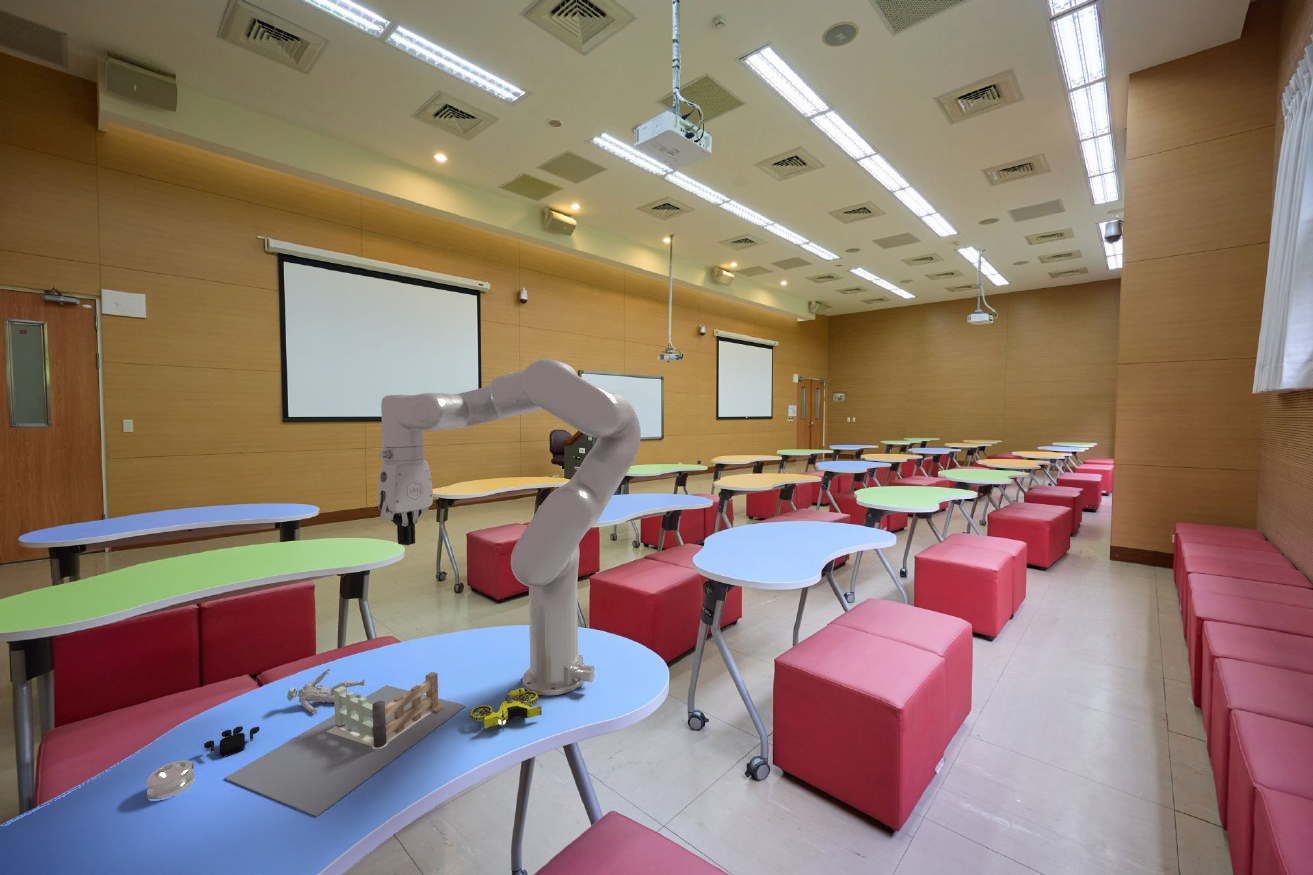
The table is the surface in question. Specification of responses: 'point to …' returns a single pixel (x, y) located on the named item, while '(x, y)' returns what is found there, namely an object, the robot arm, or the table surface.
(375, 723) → the fence fixed section
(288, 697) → the soldier figure
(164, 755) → the table surface
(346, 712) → the fence swing section
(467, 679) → the table surface
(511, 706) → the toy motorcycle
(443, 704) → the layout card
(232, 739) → the wireless earbuds
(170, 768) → the grooved metal pulley
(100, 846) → the table surface
